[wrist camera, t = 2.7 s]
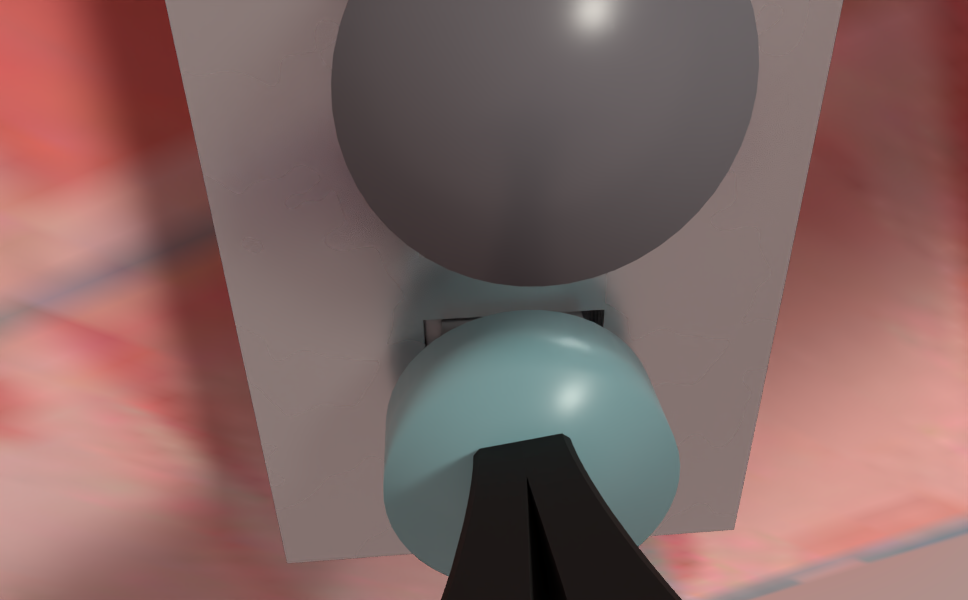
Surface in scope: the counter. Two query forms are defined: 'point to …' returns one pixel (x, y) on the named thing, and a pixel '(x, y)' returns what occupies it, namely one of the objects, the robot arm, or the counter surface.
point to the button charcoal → (541, 125)
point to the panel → (446, 294)
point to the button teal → (522, 421)
